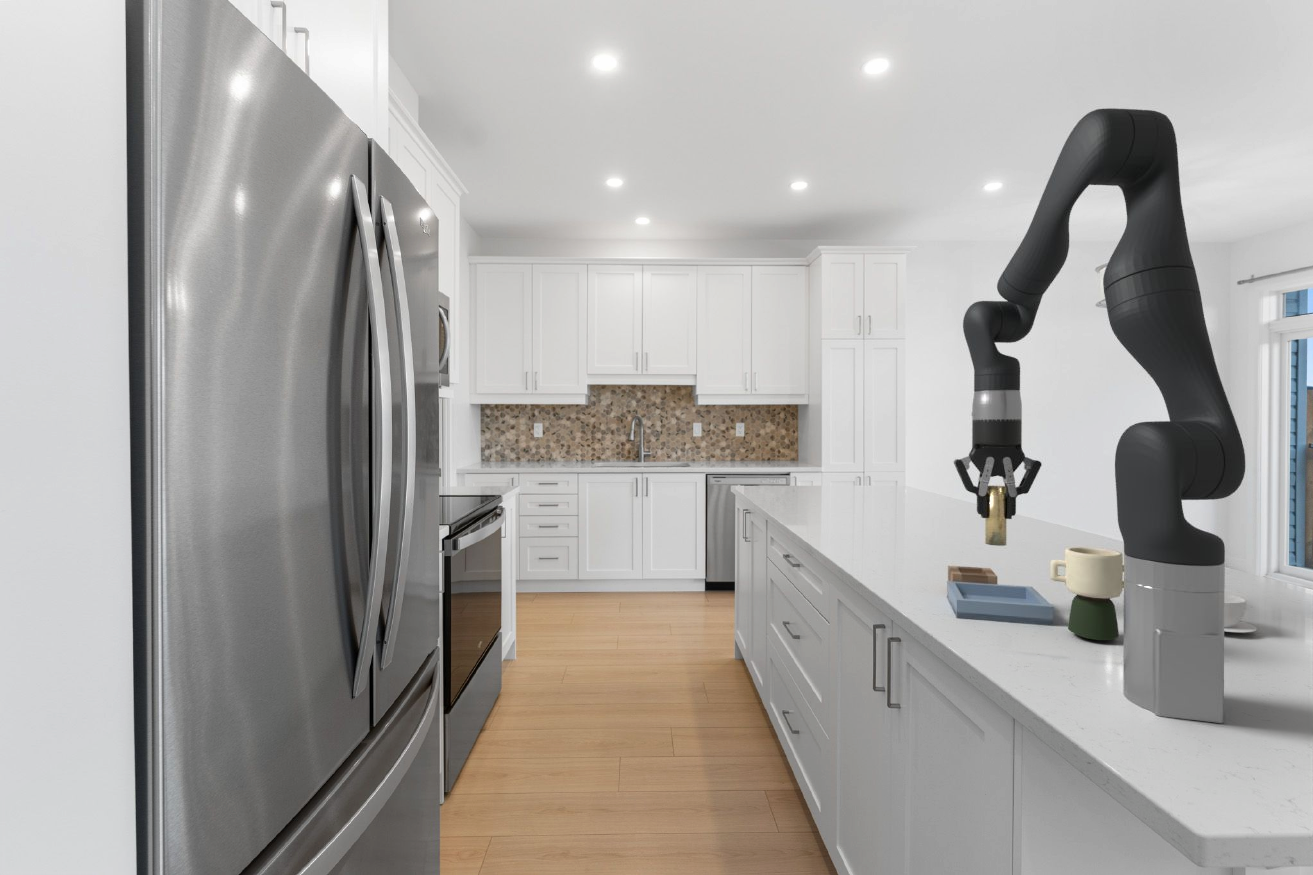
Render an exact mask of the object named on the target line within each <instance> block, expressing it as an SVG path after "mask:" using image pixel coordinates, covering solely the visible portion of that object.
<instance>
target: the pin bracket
mask: <svg viewBox="0 0 1313 875" xmlns="http://www.w3.org/2000/svg"><path fill="white" fill-rule="evenodd" d="M947 581H952V582H968V583H983V584H998V575H997V574H996V573H995V572H994V571H993V570H992V569H991V568H990V567H975V566H958V565H947Z"/></svg>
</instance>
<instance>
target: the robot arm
mask: <svg viewBox="0 0 1313 875" xmlns="http://www.w3.org/2000/svg"><path fill="white" fill-rule="evenodd" d="M1179 170H1180V168H1179V154H1178V144H1177V137H1176V131H1175V128H1174V125H1173V123H1172V121H1171V120H1170V118H1169V117H1168V116H1167V115H1166V114H1164V113H1162V112H1159V111H1158V110H1157V111H1156V110H1150V109H1137V108H1136V109H1134V108H1132V109H1131V108H1115V107H1114V108H1112V107H1111V108H1108V107H1107V108H1098V109H1094V110H1091V111H1088V113H1086V114H1085V115H1084V116H1082V118H1081V119H1079V121H1078V122H1077V123H1076V125H1075V126H1074V127H1073V128H1072V130H1071V132H1070V133H1069V135H1068V137H1067V139H1066V140H1065V142H1064V144H1063V146H1062V149H1061V151H1060V152H1059V154H1058V157H1057V160H1056V161H1055V165H1054V167H1053V169H1052V171H1051V174H1050V176H1049V178H1048V181H1047V183H1046V186H1045V188H1044V190H1043V193H1042V195H1041V197H1040V200H1039V202H1038V205H1037V208H1036V210H1035V212H1034V215H1033V217H1032V220H1031V222H1030V225H1029V226H1028V229H1027V231H1026V233H1025V235H1024V237H1023V239H1022V240H1021V242H1020V245H1019V246H1018V247H1017V249H1016V251H1015V252H1014V254H1013V256H1012V257H1011V259H1010V260H1009V262H1008V263H1007V264H1006V267H1004V270H1003V271H1002V273H1001V275H1000V277H999V278H998V281H997V284H996V288H997V289H996V290H997V293H998V294H999V296H1001V298H1002V299H1004V300H1002V301H1001V300H994V301H993V300H980V301H979V300H978V301H975V302H973V303H972V304H971V305H970V306H969V307H967V310H966V311H965V313H964V316H963V320H962V331H963V335H964V339H965V341H966V344H967V347H968V352H969V356H970V359H971V362H972V366H973V373H974V374H973V399H972V400H973V401H972V405H971V406H972V407H971V408H972V410H971V420H972V421H971V422H972V423H971V425H972V427H971V430H972V431H971V432H972V433H971V434H972V435H971V439H972V440H971V442H972V444H971V450H970V452H969V454H968V456H967V455H966V456H965V457H962V458H959V459H957V458H955V459H954V460H953V464H954V467H955V469H956V471H957V473H958V476H959V478H960V480H961V482H962V485H963V486H964V488H965V490H966V491H967V492H969V493H971V494H974V495H976V513H977V514H978V515H980V517H981V518H982V519H985V518H987V496H986V493H987V488H988V486H989V484H990V480H991V478H993V477H994V478H995V477H1001V478H1002V481H1003V483H1004V484H1003V485H1004V486H1006V520H1012V518H1013V517H1015V516H1016V514H1017V498H1018V496H1020V495H1024V494H1025V495H1026V494H1028V493H1029V492H1030V489H1031V488H1032V486H1033V484H1034V481H1035V480H1036V477H1037V476H1038V473H1039V472H1040V469H1041V467H1042V466H1043V465H1042V462H1041V461H1040V460H1037V459H1032V458H1030V457H1027V456H1026V454H1025V453H1024V451H1023V449H1022V448H1023V447H1022V446H1023V445H1022V441H1023V440H1022V437H1023V435H1022V432H1023V430H1022V428H1023V426H1022V425H1023V423H1022V422H1023V421H1022V420H1023V412H1022V411H1023V410H1022V409H1023V408H1022V407H1023V406H1022V397H1021V364H1020V361H1019V359H1018V358H1017V357H1015V356H1014V357H1013V356H1011V355H1008V354H1007V355H1006V354H1003V353H1002V352H1000V351H999V350H998V347H997V346H996V345H997V344H996V343H1002V344H1003V343H1004V344H1005V343H1007V344H1009V343H1011V344H1012V343H1016V342H1019V341H1021V340H1023V339H1024V338H1025V337H1026V336H1028V335H1029V333H1030V332H1031V331H1032V329H1033V326H1034V322H1035V319H1036V316H1037V313H1038V310H1039V307H1040V305H1041V301H1042V299H1043V295H1044V294H1045V293H1046V292H1047V290H1048V289H1049V287H1050V286H1051V285H1052V283H1053V282H1054V281H1055V279H1056V278H1057V276H1058V274H1059V273H1060V272H1061V270H1062V268H1063V267H1064V265H1065V263H1066V261H1067V258H1068V255H1069V249H1070V217H1071V213H1072V210H1073V208H1074V205H1075V204H1076V202H1077V201H1078V199H1079V198H1080V196H1081V195H1082V194H1083V192H1084V191H1085V190H1086V189H1087V188H1088V187H1089V186H1109V187H1110V186H1112V187H1116V186H1117V187H1119V188H1120V190H1121V191H1122V194H1123V199H1124V203H1125V210H1126V224H1125V229H1124V232H1123V234H1122V236H1121V237H1120V239H1119V241H1118V242H1117V244H1116V247H1115V249H1114V250H1113V252H1112V254H1111V256H1110V258H1109V260H1108V263H1107V265H1106V267H1105V270H1104V274H1103V278H1102V285H1103V286H1102V287H1103V295H1104V299H1105V306H1106V310H1107V317H1108V322H1109V325H1110V328H1111V330H1112V333H1113V335H1114V336H1115V337H1116V338H1117V340H1118V341H1119V343H1120V344H1121V346H1123V348H1125V350H1126V351H1127V352H1128V353H1129V354H1130V356H1131V357H1132V358H1134V360H1135V361H1136V362H1137V363H1138V364H1139V365H1140V366H1141V367H1142V369H1143V370H1144V371H1146V373H1147V374H1148V375H1149V377H1150V378H1151V379H1152V380H1153V382H1154V383H1155V384H1156V386H1157V388H1158V390H1159V392H1160V394H1161V395H1162V398H1163V400H1164V403H1165V407H1166V411H1167V414H1168V417H1169V420H1167V421H1163V420H1160V421H1159V420H1157V421H1156V420H1155V421H1141V422H1140V421H1139V422H1137V423H1134V424H1132V425H1130V426H1129V427H1127V428H1126V429H1125V430H1124V431H1123V433H1122V434H1121V436H1120V438H1119V439H1118V443H1117V446H1116V449H1115V455H1114V456H1115V457H1114V478H1115V493H1116V511H1117V524H1118V527H1119V532H1120V534H1121V537H1122V540H1123V565H1124V572H1123V581H1124V588H1123V643H1122V644H1123V649H1122V650H1123V651H1122V652H1123V653H1122V654H1123V656H1122V657H1123V661H1122V663H1123V671H1122V672H1123V673H1122V674H1123V677H1122V678H1123V679H1122V681H1123V683H1122V685H1123V689H1122V690H1123V692H1122V693H1123V696H1124V697H1125V698H1126V700H1128V701H1129V702H1130V703H1132V704H1134V705H1136V706H1138V707H1140V708H1142V709H1145V710H1147V711H1150V712H1152V713H1154V714H1155V715H1156V716H1158V717H1165V718H1174V719H1182V720H1189V721H1190V720H1193V721H1201V722H1207V723H1208V722H1210V723H1218V724H1223V723H1224V716H1225V715H1224V713H1225V704H1224V703H1225V702H1224V701H1225V699H1224V698H1225V631H1224V594H1225V586H1226V585H1225V584H1226V583H1225V581H1226V578H1225V576H1226V575H1225V574H1226V573H1225V570H1226V565H1225V560H1226V558H1225V557H1226V556H1225V554H1226V548H1225V546H1226V545H1225V542H1224V540H1223V539H1222V538H1221V537H1220V536H1218V535H1216V534H1214V533H1211V532H1209V531H1204V530H1202V529H1200V528H1197V527H1196V526H1194V525H1193V524H1191V523H1190V522H1189V521H1188V520H1187V518H1186V517H1185V515H1184V513H1185V512H1184V508H1183V501H1194V500H1195V501H1205V500H1206V501H1207V500H1210V501H1211V500H1212V501H1213V500H1221V499H1225V498H1227V497H1229V496H1231V495H1232V494H1235V492H1236V491H1237V490H1238V489H1239V488H1240V486H1241V485H1242V482H1243V480H1244V478H1245V472H1246V454H1245V448H1244V443H1243V440H1242V437H1241V433H1240V430H1239V427H1238V425H1237V421H1236V419H1235V416H1234V414H1233V411H1232V408H1231V405H1230V402H1229V399H1228V397H1227V394H1226V392H1225V388H1224V385H1223V382H1222V380H1221V376H1220V374H1219V370H1218V367H1217V364H1216V363H1217V362H1216V361H1215V360H1216V359H1215V355H1214V352H1213V348H1212V347H1213V346H1212V344H1211V341H1210V340H1211V339H1210V336H1209V331H1208V328H1207V322H1206V318H1205V314H1204V313H1205V312H1204V308H1203V302H1202V300H1203V299H1202V295H1201V290H1200V286H1199V281H1198V280H1199V279H1198V276H1197V270H1196V267H1195V265H1194V260H1193V256H1192V254H1191V253H1192V252H1191V250H1190V245H1189V244H1190V242H1189V238H1188V233H1187V227H1186V221H1185V215H1184V210H1183V202H1182V196H1181V183H1180V182H1181V181H1180V171H1179ZM1005 300H1006V301H1005ZM970 463H972V464H973V465H974V466H975V468H976V469H977V471H978V472H979V476H978V481H977V482H978V483H977V486H976V485H974V484H973V481H972V478H971V477H970V475H969V473H968V470H969V469H970ZM1022 463H1023V469H1024V471H1025V472H1024V474H1023V476H1022V479H1021V481H1020V483H1019V485H1018V486H1016V480H1015V475H1014V474H1015V472H1016V470H1018V468H1019V467H1020V466H1021V465H1022Z"/></svg>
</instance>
